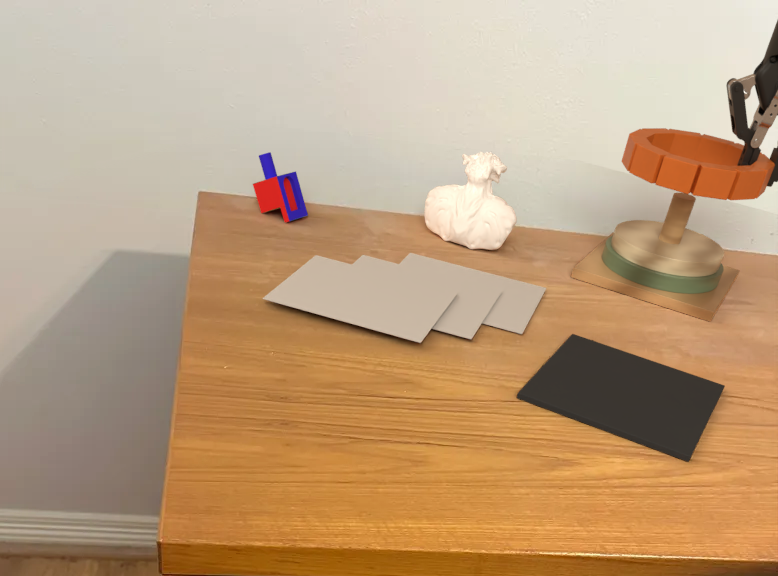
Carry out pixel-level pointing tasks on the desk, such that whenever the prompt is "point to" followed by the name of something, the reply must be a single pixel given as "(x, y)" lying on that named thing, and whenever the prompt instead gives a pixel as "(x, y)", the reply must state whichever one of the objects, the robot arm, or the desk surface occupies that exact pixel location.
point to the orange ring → (695, 164)
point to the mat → (625, 395)
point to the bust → (472, 206)
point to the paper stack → (409, 296)
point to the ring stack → (662, 263)
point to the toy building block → (279, 191)
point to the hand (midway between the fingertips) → (754, 181)
